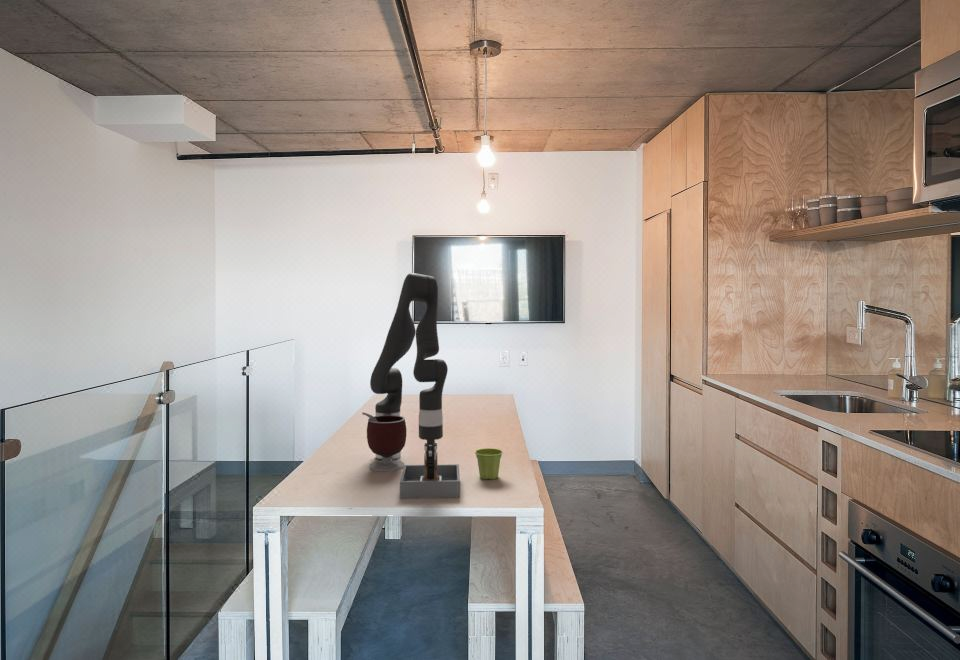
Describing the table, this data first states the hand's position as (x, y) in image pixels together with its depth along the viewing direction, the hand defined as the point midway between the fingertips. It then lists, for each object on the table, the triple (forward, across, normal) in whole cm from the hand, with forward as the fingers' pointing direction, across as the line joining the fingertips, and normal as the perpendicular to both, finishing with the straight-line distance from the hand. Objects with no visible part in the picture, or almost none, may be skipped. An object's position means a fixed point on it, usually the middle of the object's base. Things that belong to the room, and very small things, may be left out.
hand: (430, 476), depth 195 cm
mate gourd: (+4, +25, +17) cm, 30 cm away
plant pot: (+4, +11, -19) cm, 22 cm away
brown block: (+2, 0, 0) cm, 2 cm away
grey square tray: (+4, 0, 0) cm, 4 cm away
